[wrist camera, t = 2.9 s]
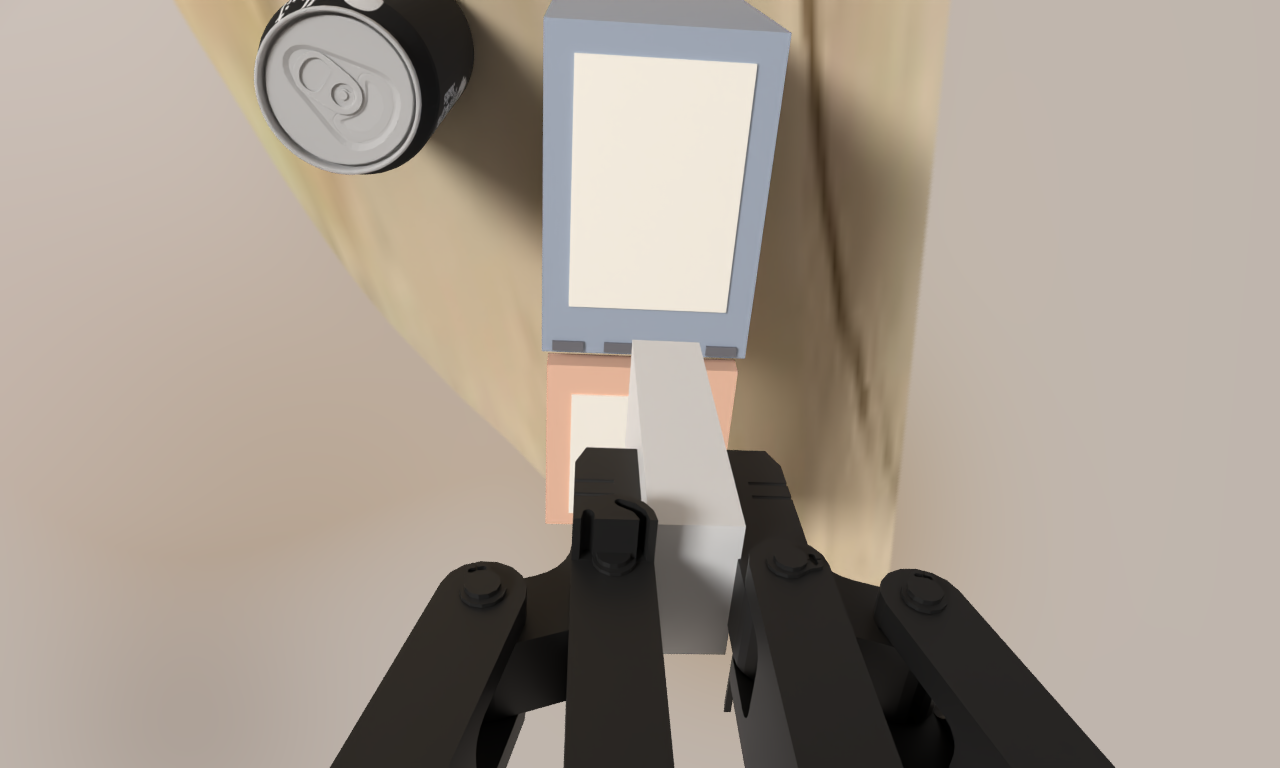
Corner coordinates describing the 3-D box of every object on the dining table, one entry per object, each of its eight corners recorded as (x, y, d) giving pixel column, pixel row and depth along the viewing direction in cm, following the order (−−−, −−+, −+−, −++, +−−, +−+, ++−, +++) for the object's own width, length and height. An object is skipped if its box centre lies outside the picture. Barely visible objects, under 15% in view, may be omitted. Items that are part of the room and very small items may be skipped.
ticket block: (561, -19, 38) (543, 17, 26) (732, -8, 39) (792, 33, 27) (558, 228, 44) (541, 352, 32) (706, 235, 45) (745, 359, 33)
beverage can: (428, 142, 42) (372, 221, 32) (310, 55, 40) (207, 109, 29) (503, 33, 40) (468, 79, 29) (381, -66, 37) (297, -54, 27)
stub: (548, 352, 34) (546, 366, 33) (734, 359, 34) (738, 372, 33) (546, 509, 38) (545, 524, 37) (713, 513, 38) (716, 528, 37)
